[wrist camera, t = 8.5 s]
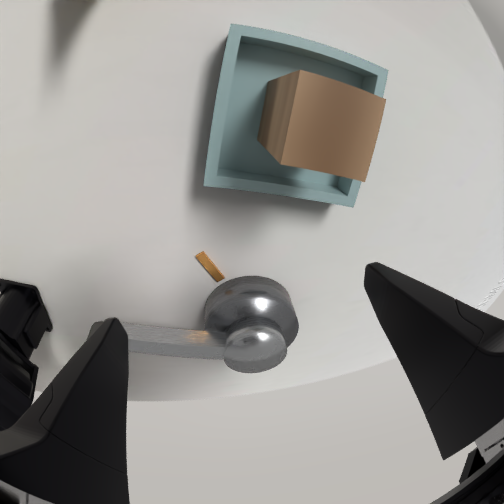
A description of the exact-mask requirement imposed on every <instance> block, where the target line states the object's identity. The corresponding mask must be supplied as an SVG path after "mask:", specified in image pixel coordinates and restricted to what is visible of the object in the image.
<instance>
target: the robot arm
mask: <svg viewBox="0 0 504 504" xmlns="http://www.w3.org/2000/svg"><path fill="white" fill-rule="evenodd" d="M364 287H365V290H366V292H367V295H368V297H369V299H370V302H371V304H372V306H373V309H374V311H375V313H376V316H377V318H378V320H379V323H380V325H381V326H382V328H383V330H384V332H385V334H386V336H387V338H388V339H389V341H390V343H391V345H392V347H393V349H394V351H395V353H396V355H397V357H398V359H399V361H400V362H401V365H402V366H403V369H404V370H405V373H406V375H407V377H408V379H409V381H410V383H411V385H412V387H413V389H414V391H415V394H416V395H417V398H418V400H419V402H420V405H421V407H422V409H423V411H424V414H425V416H426V419H427V421H428V423H429V425H430V428H431V431H432V433H433V435H434V438H435V440H436V443H437V446H438V448H439V451H440V453H441V456H442V458H443V460H445V459H447V458H448V457H450V456H452V455H453V454H455V453H457V452H458V451H460V450H462V449H463V448H465V447H466V446H468V445H469V444H471V443H472V442H474V441H475V443H476V445H477V447H476V448H475V449H474V450H473V451H471V452H470V453H469V454H468V457H467V460H466V463H465V466H464V469H463V472H462V475H461V478H460V480H459V482H460V485H458V486H457V487H455V488H454V489H452V490H451V491H449V492H448V493H447V494H445V495H443V496H442V497H440V498H439V499H437V500H435V501H433V502H432V503H430V504H504V320H501V319H499V318H497V317H494V316H492V315H489V314H487V313H485V312H482V311H480V310H478V309H475V308H473V307H471V306H469V305H467V304H465V303H463V302H461V301H459V300H457V299H454V298H453V297H451V296H449V295H447V294H445V293H443V292H441V291H439V290H436V289H434V288H432V287H430V286H428V285H426V284H424V283H422V282H420V281H418V280H415V279H413V278H411V277H409V276H407V275H405V274H403V273H400V272H398V271H396V270H394V269H392V268H389V267H387V266H385V265H383V264H380V263H378V262H374V263H370V264H367V265H366V268H365V277H364ZM0 292H1V294H0V504H130V502H129V492H128V477H127V459H126V412H127V391H128V375H129V366H128V334H127V332H126V330H125V329H124V327H123V326H122V324H121V323H120V321H119V320H118V319H117V318H115V317H114V318H108V319H106V320H105V321H104V322H103V323H102V324H101V325H100V326H99V327H98V329H97V330H96V331H95V332H94V333H93V334H92V335H91V336H90V337H89V339H88V340H87V341H86V342H85V343H84V344H83V345H82V346H81V348H80V349H79V350H78V351H77V352H76V353H75V354H74V356H73V357H72V358H71V359H70V360H69V361H68V363H67V364H66V365H65V366H64V367H63V369H62V370H61V371H60V372H59V373H58V375H57V376H56V377H55V378H54V379H53V381H52V382H51V383H50V384H49V385H48V387H47V388H46V389H45V390H44V392H43V393H42V394H41V395H40V396H39V398H38V399H37V400H36V401H35V402H34V403H33V404H32V402H33V398H34V392H35V385H36V380H37V374H38V369H39V368H38V367H37V366H36V365H35V364H33V363H32V362H31V361H29V359H30V356H31V354H32V352H33V350H34V349H36V348H37V347H38V345H39V343H40V341H41V338H42V336H43V334H44V332H45V331H48V332H51V330H52V325H51V323H50V321H49V318H48V316H47V313H46V311H45V308H44V306H43V303H42V300H41V298H40V295H39V292H38V289H37V288H36V287H35V286H33V285H28V284H23V283H18V282H14V281H9V280H4V279H0Z"/></svg>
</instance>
